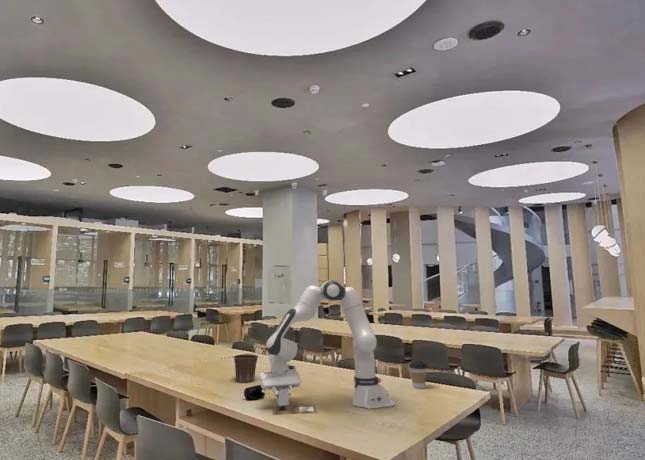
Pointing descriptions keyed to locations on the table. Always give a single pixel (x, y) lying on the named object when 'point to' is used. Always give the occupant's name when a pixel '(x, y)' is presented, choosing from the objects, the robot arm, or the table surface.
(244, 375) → the plant pot
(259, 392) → the end cap
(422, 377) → the coffee cup
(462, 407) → the table surface
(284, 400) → the tall grey pillar
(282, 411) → the walnut board
